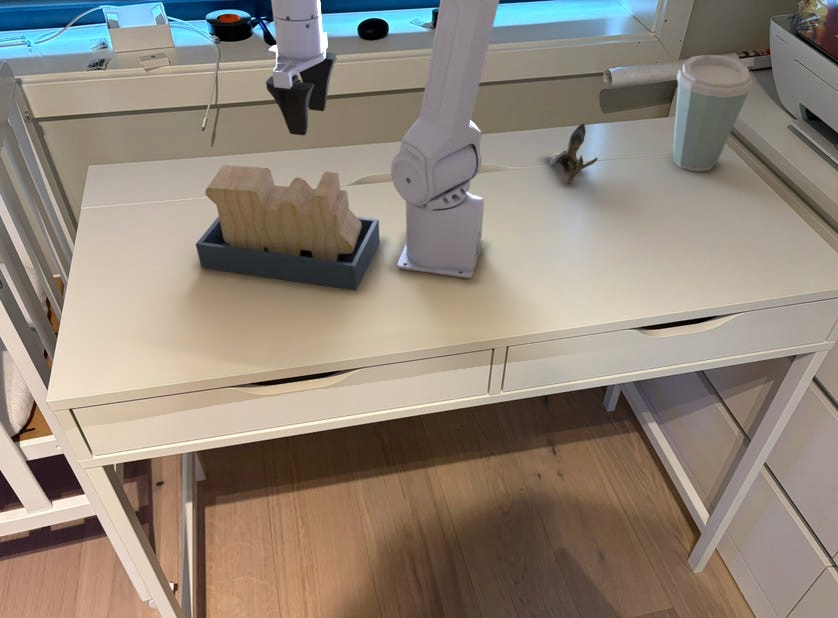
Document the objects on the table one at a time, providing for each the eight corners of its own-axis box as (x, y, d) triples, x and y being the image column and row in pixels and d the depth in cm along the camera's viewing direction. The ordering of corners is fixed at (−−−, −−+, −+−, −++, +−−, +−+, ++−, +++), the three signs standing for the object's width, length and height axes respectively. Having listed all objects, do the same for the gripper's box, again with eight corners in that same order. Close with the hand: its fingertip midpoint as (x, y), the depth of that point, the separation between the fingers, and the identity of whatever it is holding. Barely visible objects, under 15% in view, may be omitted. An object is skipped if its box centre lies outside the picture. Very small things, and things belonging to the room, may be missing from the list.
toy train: (354, 270, 89) (349, 197, 82) (219, 258, 90) (203, 185, 83) (362, 245, 93) (358, 174, 86) (233, 234, 94) (219, 163, 87)
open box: (379, 242, 95) (378, 219, 92) (356, 290, 87) (354, 266, 85) (236, 222, 97) (231, 199, 95) (201, 268, 89) (195, 243, 87)
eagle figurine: (607, 177, 107) (594, 139, 113) (590, 144, 102) (577, 106, 107) (560, 200, 110) (549, 162, 115) (541, 169, 105) (530, 130, 110)
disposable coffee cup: (737, 178, 111) (769, 80, 101) (669, 180, 110) (695, 81, 100) (711, 146, 119) (738, 52, 109) (647, 147, 118) (669, 53, 107)
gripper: (286, -7, 94) (297, 96, 103) (241, 29, 83) (258, 141, 92) (339, -2, 93) (346, 102, 102) (300, 35, 82) (312, 148, 91)
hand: (308, 121), depth 97 cm, fingers open, 7 cm apart
